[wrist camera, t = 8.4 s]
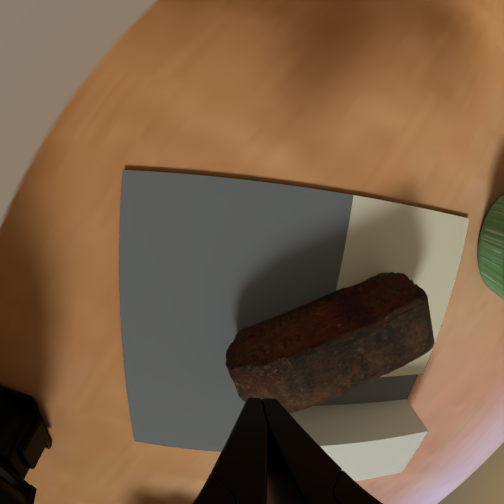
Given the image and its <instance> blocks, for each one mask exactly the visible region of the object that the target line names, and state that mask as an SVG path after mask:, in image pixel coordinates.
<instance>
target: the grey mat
mask: <svg viewBox="0 0 504 504" xmlns="http://www.w3.org/2000/svg"><path fill="white" fill-rule="evenodd" d="M468 223H469V218H465V217H461V216H456V215H452V214H448V213H443V212H439V211H434V210H430V209H425V208H420V207H415V206H410V205H405V204H400V203H395V202H390V201H385V200H379V199H374V198H368V197H363V196H357V195H351V194H345V193H339V192H333V191H326V190H320V189H313V188H306V187H299V186H292V185H285V184H277V183H269V182H261V181H253V180H244V179H235V178H225V177H216V176H205V175H194V174H182V173H169V172H155V171H139V170H123V175H122V189H121V206H120V232H119V290H120V316H121V333H122V347H123V358H124V369H125V378H126V387H127V395H128V402H129V410H130V416H131V423H132V429H133V435H134V441H137V442H143V443H149V444H155V445H162V446H169V447H177V448H185V449H195V450H206V451H219V452H222V450H223V448H224V446H225V444H226V442H227V440H228V438H229V435H230V433H231V431H232V429H233V427H234V425H235V423H236V421H237V419H238V417H239V415H240V412H241V410H242V408H243V406H244V404H245V401H243V400H242V399H241V398H240V397H239V396H238V392H237V389H236V386H235V384H234V382H233V380H232V379H231V377H230V374H229V371H228V369H227V366H226V361H227V360H226V351H227V349H228V347H229V345H230V344H231V343H232V342H233V341H234V338H235V336H236V334H237V333H238V332H239V331H240V330H242V329H245V328H248V327H250V326H253V325H255V324H258V323H261V322H263V321H265V320H268V319H270V318H273V317H275V316H278V315H281V314H283V313H286V312H288V311H290V310H293V309H295V308H298V307H300V306H302V305H305V304H307V303H310V302H312V301H314V300H316V299H319V298H322V297H324V296H326V295H328V294H331V293H333V292H335V291H337V290H340V289H342V288H347V287H350V286H353V285H356V284H360V283H361V282H363V281H365V280H367V279H369V278H371V277H373V276H376V275H377V274H379V273H390V272H394V273H404V274H405V275H406V276H408V278H409V280H413V282H414V284H417V285H418V286H419V287H420V288H422V289H423V290H424V291H425V293H426V294H427V296H428V303H429V309H430V316H431V322H432V329H433V336H434V342H435V341H436V338H437V336H438V333H439V330H440V327H441V324H442V321H443V318H444V315H445V312H446V309H447V306H448V303H449V300H450V296H451V293H452V290H453V286H454V283H455V279H456V275H457V271H458V268H459V264H460V260H461V256H462V251H463V247H464V242H465V238H466V233H467V228H468ZM432 349H433V348H432ZM432 349H431V350H430V351H429V352H427V353H426V354H424V355H423V356H421V357H419V358H417V359H415V360H413V361H411V362H410V363H408V364H407V365H405V366H403V367H401V368H398V369H396V370H394V371H392V372H390V373H389V374H386V375H383V376H381V377H379V378H377V379H375V380H373V381H371V382H368V383H366V384H364V385H361V386H359V387H357V388H354V389H352V390H350V391H349V392H347V393H345V394H342V395H339V396H336V397H334V398H331V399H329V400H326V401H324V402H322V403H319V404H316V405H314V406H324V405H346V404H361V403H373V402H384V401H393V400H402V399H407V397H408V395H409V392H410V390H411V388H412V386H413V383H414V381H415V379H416V376H417V374H423V371H424V369H425V367H426V364H427V362H428V359H429V357H430V354H431V352H432Z"/></svg>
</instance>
